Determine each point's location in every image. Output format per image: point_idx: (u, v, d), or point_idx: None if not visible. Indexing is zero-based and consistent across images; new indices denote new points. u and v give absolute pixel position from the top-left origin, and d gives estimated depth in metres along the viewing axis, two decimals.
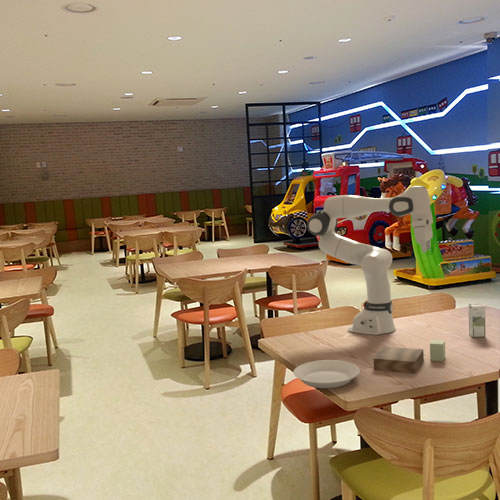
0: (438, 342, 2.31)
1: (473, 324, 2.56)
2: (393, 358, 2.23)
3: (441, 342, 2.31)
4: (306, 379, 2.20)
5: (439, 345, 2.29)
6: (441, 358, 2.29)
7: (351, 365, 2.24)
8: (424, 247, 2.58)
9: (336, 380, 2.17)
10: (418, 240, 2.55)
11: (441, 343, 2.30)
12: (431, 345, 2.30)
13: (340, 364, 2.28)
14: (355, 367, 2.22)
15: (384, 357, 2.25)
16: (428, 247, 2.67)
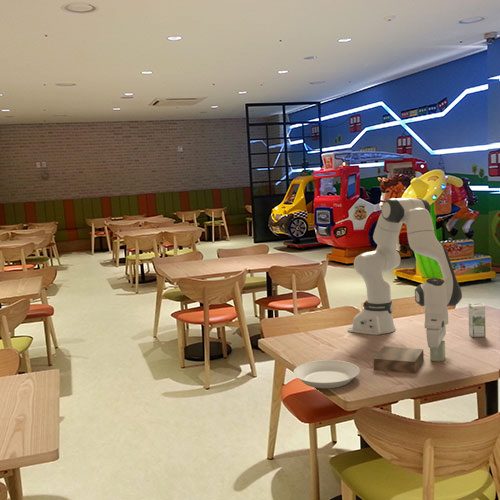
0: None
1: (473, 324, 2.56)
2: (393, 358, 2.23)
3: (441, 342, 2.31)
4: (306, 379, 2.20)
5: (439, 345, 2.29)
6: (441, 358, 2.29)
7: (351, 365, 2.24)
8: (436, 350, 2.28)
9: (336, 380, 2.17)
10: (430, 344, 2.23)
11: (441, 343, 2.30)
12: None
13: (340, 364, 2.27)
14: (355, 367, 2.22)
15: (384, 357, 2.25)
16: None
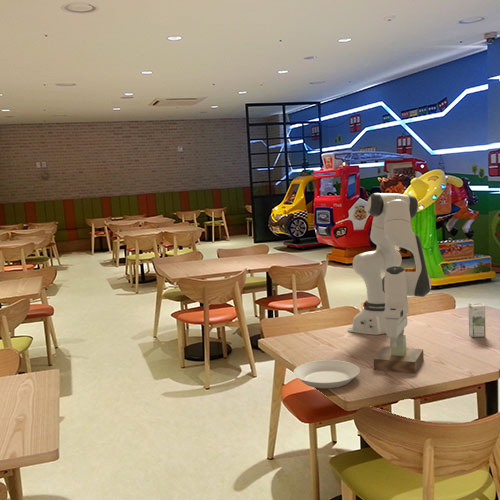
0: (398, 336, 2.27)
1: (473, 324, 2.56)
2: (393, 358, 2.23)
3: (401, 336, 2.27)
4: (306, 379, 2.20)
5: (399, 340, 2.25)
6: (401, 353, 2.25)
7: (351, 365, 2.24)
8: (395, 341, 2.22)
9: (336, 380, 2.17)
10: (389, 334, 2.19)
11: (401, 337, 2.26)
12: (391, 340, 2.26)
13: (340, 364, 2.27)
14: (355, 367, 2.22)
15: (384, 357, 2.25)
16: None
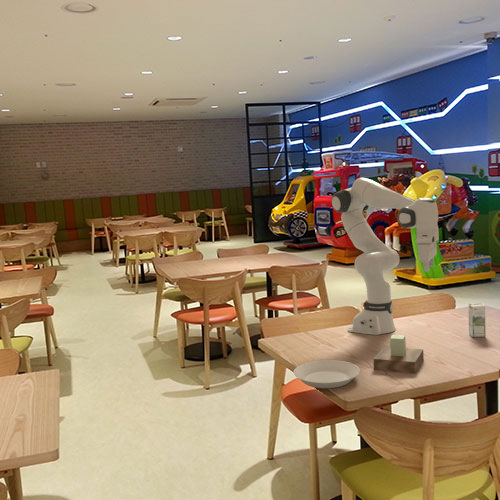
0: (398, 337, 2.27)
1: (473, 324, 2.56)
2: (393, 358, 2.23)
3: (401, 337, 2.27)
4: (306, 379, 2.20)
5: (399, 340, 2.25)
6: (401, 353, 2.25)
7: (351, 365, 2.24)
8: (427, 266, 2.37)
9: (336, 380, 2.17)
10: (421, 258, 2.33)
11: (401, 338, 2.26)
12: (391, 340, 2.26)
13: (340, 364, 2.27)
14: (355, 367, 2.22)
15: (384, 357, 2.25)
16: (431, 265, 2.46)
